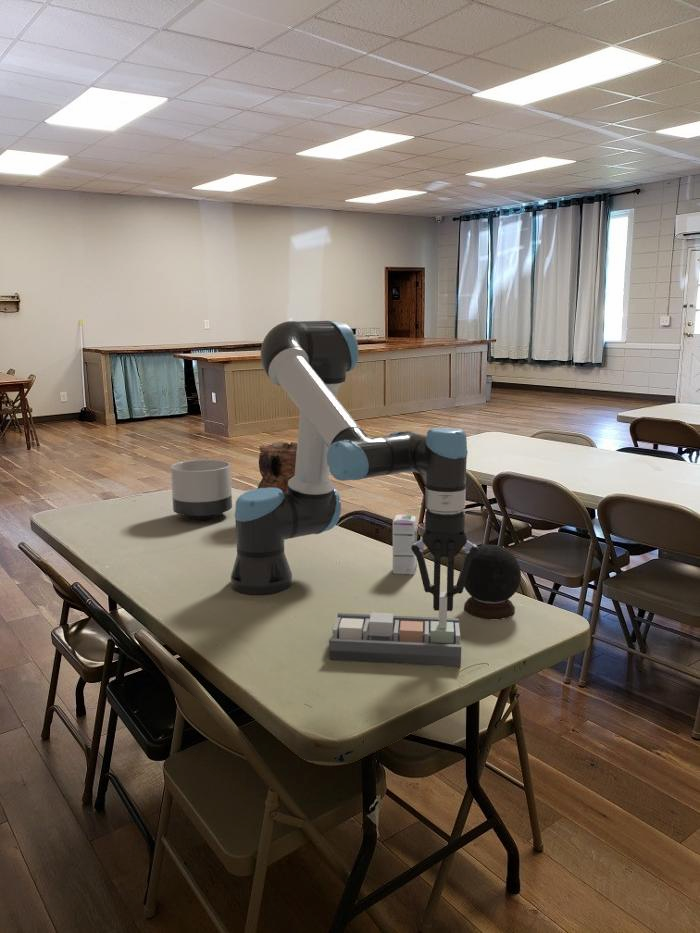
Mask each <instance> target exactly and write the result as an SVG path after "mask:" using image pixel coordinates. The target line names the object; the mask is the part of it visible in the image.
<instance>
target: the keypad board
mask: <svg viewBox="0 0 700 933" xmlns="http://www.w3.org/2000/svg"><path fill="white" fill-rule="evenodd" d="M370 616H371V614H367V613H366V614H365V613H364V614H362V613H346V612H345V613H341V612H340V613H339V612H338V613H337V616H336V618H335V621H334V625H333V628H332V638H329V645H328V647H329V648H328V649H329V651H328V652H329V653H328V654H329V657H328V658H329V661H343V662H363V663H381V664H384V663H385V664H400V665H417V666H419V665H421V666H436V665H437V666H438V665H442V666H443V667H456V666H461V667H462V644H461V630H460V619H459V618H457V617H456V618H453V617H447V622H453V624H454V643H436V642H430V631H431V621H439V617H435V616H434V617H432V616H431V617H430V616H410V615H407V616H406V615H393V631H392V634H376V633H369V621H370ZM342 618H351V619H364V629H363V636H362V640H355V639H339V626H340V622H341V619H342ZM401 621H419V622H423V643H417V642H400V623H401Z"/></svg>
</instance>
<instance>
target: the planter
mask: <svg viewBox="0 0 700 933" xmlns="http://www.w3.org/2000/svg"><path fill="white" fill-rule="evenodd" d="M170 475H171V476H170V477H171V478H170V479H171V496H172V511H173V512H174V513H175V514H178V515H182V516H184V517H185V518H188V519H191V520H194V521H206V520H208V521H209V520H213V519H215V518H217V517H219V516H221V515H222V514H224V513H226V512H228V511H230V510H231V509H232V508H233V498H232V497H233V495H232V494H233V492H232V490H233V489H232V467H231V463H230V462H228V461H225V460H220V459H193V460H185V461H179V462H176V463H174V464H172V465H171V466H170Z"/></svg>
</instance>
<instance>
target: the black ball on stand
mask: <svg viewBox="0 0 700 933" xmlns="http://www.w3.org/2000/svg"><path fill="white" fill-rule="evenodd" d="M477 548H478V552H477V553H476V554H475V556H474V557H473V558H472V561H471V565H470V568H469V572H468V575H467V579H466V582H465V585H464V589H465V591H466V592H467V593H468V595H469V596H470V597H468V598H467V600H466V601H465V603H464V604H463V605H464V606H463V607H464V609H463V610H464V611H465V612H466V613H467V614H469V615H471V616H472V617H475V618H478V619H483V620H490V619H498V620H504V619H503V618H505V619H509V618H511V617H512V616H514V615H515V610H516V607H515V605H514V604H513V602H512V601H511V600H510V599H511V598H512V597H513V596H514V595H515V593H516V592H517V590H518V589H519V587H520V585H521V579H522V571H521V567H520V563H519V562H518V560H517V558H516V557H515V555H514V554H513V553H512V552H510V550H508V549H507V548H505V547H503V546H500V545H496V544H483V545H481V546H477ZM510 616H511V617H510ZM508 617H509V618H508Z"/></svg>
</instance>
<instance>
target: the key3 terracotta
mask: <svg viewBox="0 0 700 933" xmlns="http://www.w3.org/2000/svg"><path fill="white" fill-rule="evenodd" d="M400 642H417V643H423V622H419V621H401V623H400Z"/></svg>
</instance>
